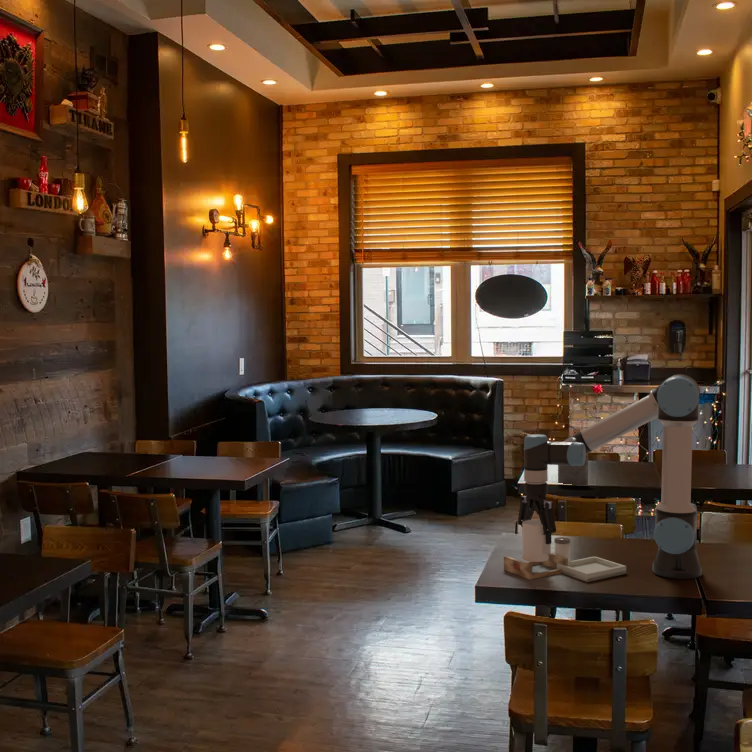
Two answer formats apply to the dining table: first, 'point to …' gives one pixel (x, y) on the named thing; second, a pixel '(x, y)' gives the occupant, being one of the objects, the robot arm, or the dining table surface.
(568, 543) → the salt jar
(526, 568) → the oak caddy
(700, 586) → the dining table surface
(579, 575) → the tray
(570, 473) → the flask
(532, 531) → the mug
